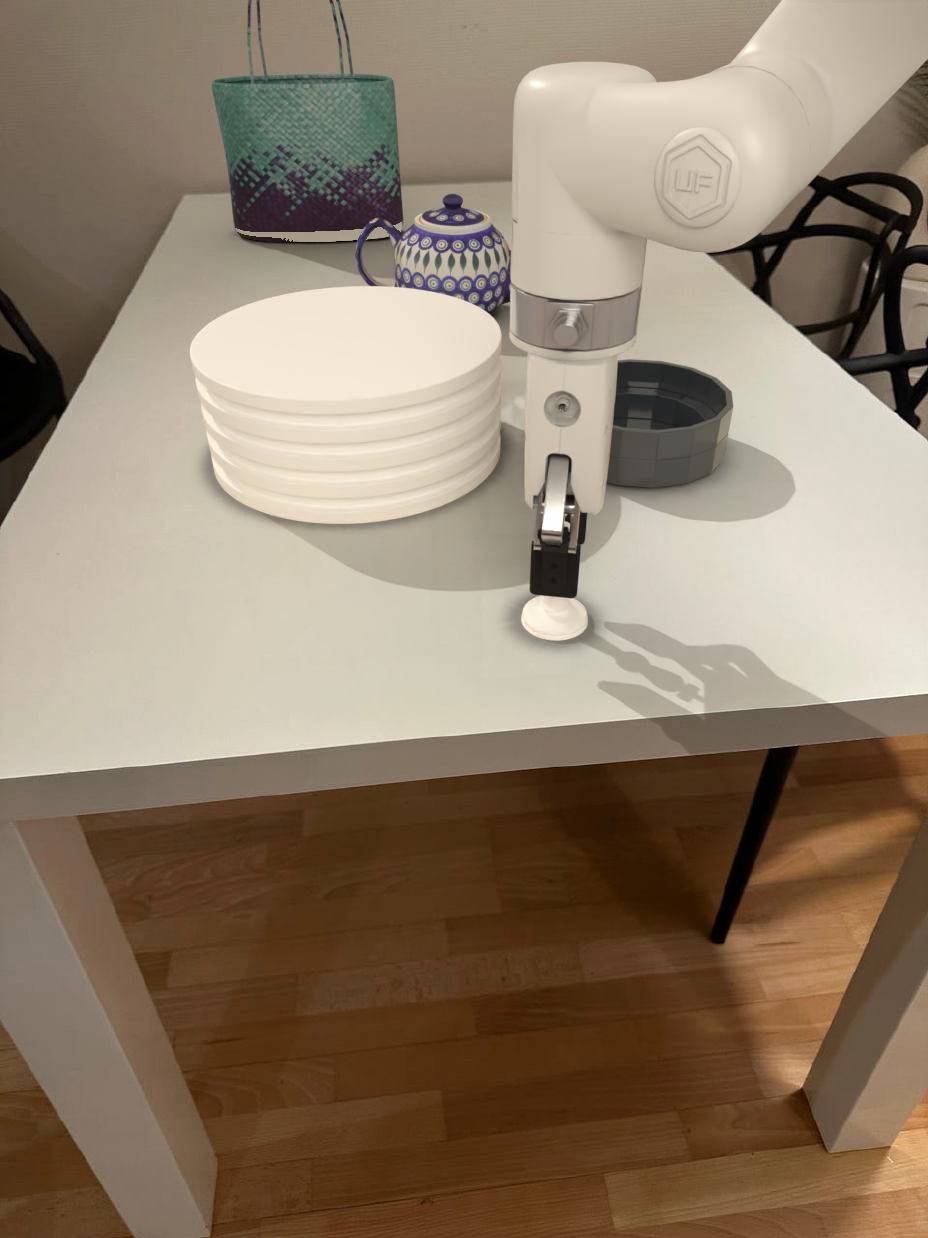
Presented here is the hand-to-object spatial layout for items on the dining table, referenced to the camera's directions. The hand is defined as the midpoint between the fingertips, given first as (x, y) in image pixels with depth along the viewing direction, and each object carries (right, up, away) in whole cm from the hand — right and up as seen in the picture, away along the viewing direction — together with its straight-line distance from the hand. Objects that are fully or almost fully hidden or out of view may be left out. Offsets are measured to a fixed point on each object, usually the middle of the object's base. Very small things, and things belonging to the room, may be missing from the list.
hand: (558, 564), depth 63 cm
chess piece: (0, -4, +3) cm, 5 cm away
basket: (-31, +61, +87) cm, 110 cm away
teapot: (-8, +36, +55) cm, 66 cm away
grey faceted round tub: (+10, +13, +24) cm, 29 cm away
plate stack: (-17, +13, +25) cm, 33 cm away
